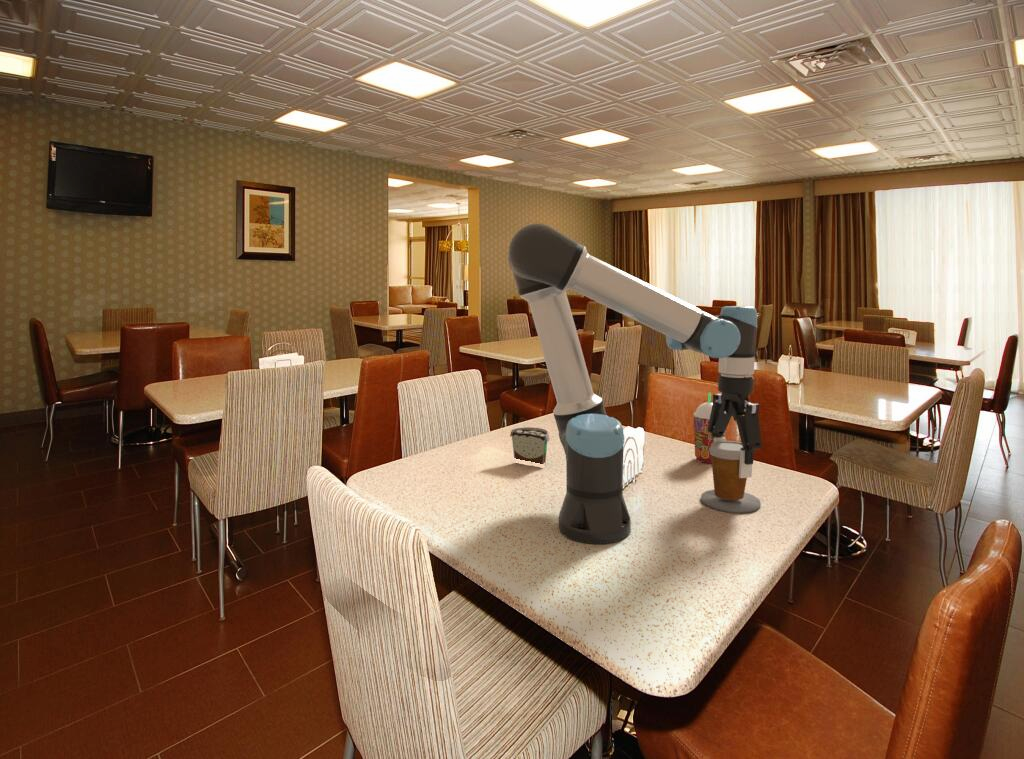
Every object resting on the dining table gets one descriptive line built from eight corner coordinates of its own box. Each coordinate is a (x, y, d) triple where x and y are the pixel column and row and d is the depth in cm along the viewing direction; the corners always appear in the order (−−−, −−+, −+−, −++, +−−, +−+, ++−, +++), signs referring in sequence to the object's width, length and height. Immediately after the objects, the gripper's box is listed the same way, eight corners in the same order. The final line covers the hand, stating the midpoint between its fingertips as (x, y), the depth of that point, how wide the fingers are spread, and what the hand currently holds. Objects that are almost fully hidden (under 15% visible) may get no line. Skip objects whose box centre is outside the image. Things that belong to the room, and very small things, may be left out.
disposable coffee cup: (746, 489, 134) (748, 441, 132) (755, 504, 125) (757, 451, 123) (704, 487, 136) (706, 439, 134) (710, 501, 127) (712, 450, 125)
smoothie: (686, 457, 165) (688, 391, 162) (710, 455, 168) (712, 389, 165) (703, 466, 157) (706, 396, 154) (728, 463, 160) (731, 394, 157)
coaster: (722, 515, 123) (722, 512, 123) (690, 495, 136) (690, 492, 136) (773, 509, 126) (773, 506, 126) (737, 490, 139) (737, 487, 138)
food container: (557, 463, 162) (557, 430, 161) (547, 469, 157) (547, 434, 156) (521, 457, 169) (520, 425, 167) (510, 462, 164) (509, 429, 162)
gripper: (784, 381, 116) (778, 484, 120) (721, 367, 138) (717, 455, 141) (753, 383, 115) (747, 487, 118) (694, 369, 136) (691, 458, 139)
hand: (731, 470), depth 130 cm, fingers closed on disposable coffee cup, 9 cm apart
